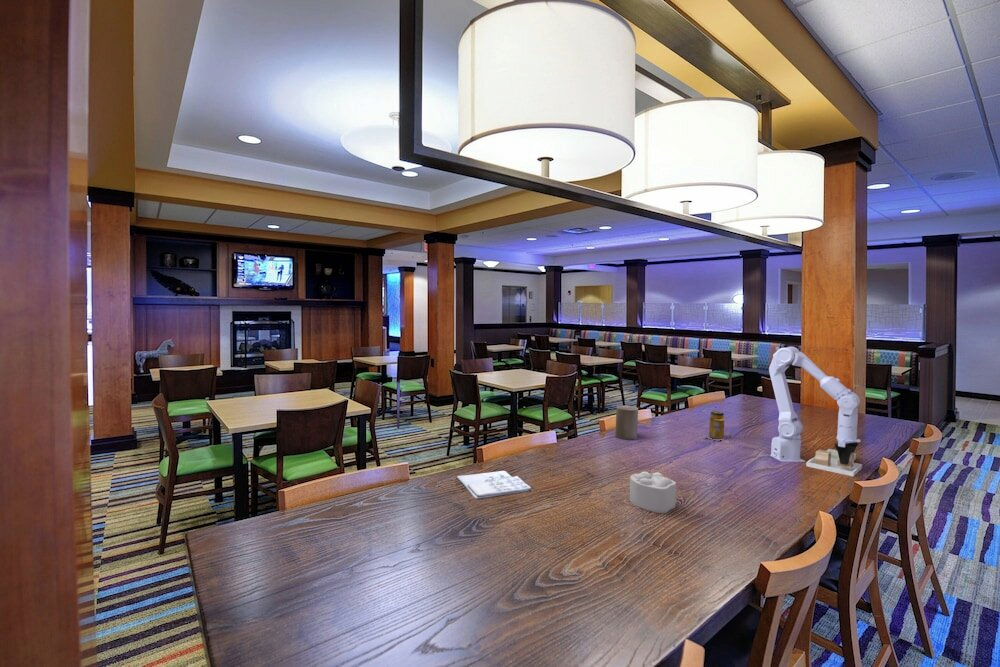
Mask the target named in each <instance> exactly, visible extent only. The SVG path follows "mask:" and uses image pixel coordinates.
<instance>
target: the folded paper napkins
mask: <svg viewBox="0 0 1000 667" xmlns="http://www.w3.org/2000/svg"><path fill="white" fill-rule="evenodd" d="M456 478H457V479H458V480H459V481H460V483H462V484H463V486H464V487H465V488H466V490H467V491H468V492H469V493H470V495H471V496H472V497H473V498H474V499H475V500H477V499H478V500H479V499H484V498H490V497H497V496H504V495H510V494H516V493H517V494H518V493H521V492H522V493H525V492H529V491H530V490H531V489H532V487H531V486H530V485H528V484H527V483H526V482H525V481H524V480H522V478H520V477H519V476H518V475H516V476H512V475H510V474H509V473H508V472H507V471H506V470H499V471H492V472H491V471H490V472H483V473H474V474H467V475H466V474H464V475H457V477H456Z"/></svg>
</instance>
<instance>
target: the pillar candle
mask: <svg viewBox="0 0 1000 667" xmlns="http://www.w3.org/2000/svg"><path fill="white" fill-rule="evenodd" d="M615 415H616V416H615V437H616V438H618V439H620V440H625V441H626V440H629V441H632V440H637V439H638V429H639V428H638V424H639V407H636V406H632V405H617V406H616V414H615Z"/></svg>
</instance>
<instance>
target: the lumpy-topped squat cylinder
mask: <svg viewBox="0 0 1000 667" xmlns="http://www.w3.org/2000/svg"><path fill="white" fill-rule="evenodd" d="M676 494H677V482H676V481H674V480H672V479H670V478H668V477H666V476H664V475H663V473H661V472H658V471H656V472H653V473H651V472H648V471H641V472H640V473H633V474H631V475H630V478H629V501H630V503H631V504H633V505H634V506H636V507H638V508H640V509H643V510H646V511H648V512H649V511H650V512H653V513H657V514H667V513H668V512H669V511H671V510H673V509H675V508H676V505H677V504H676V500H677V497H676V496H677V495H676Z"/></svg>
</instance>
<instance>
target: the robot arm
mask: <svg viewBox="0 0 1000 667" xmlns="http://www.w3.org/2000/svg"><path fill="white" fill-rule="evenodd" d="M790 365H792V366H795V367H800V368H802V369H803V370H805V371H806V372H807V373H808V374H809V375H811V377H813V378H815V379H816V380H817V381H818V382H819V387H820V388H821V389H822V390H823V391H824V392H825V393H827V394H828V395H829V396H830V397H831V398H832V399H833V400H834V401H836V403H837V404H836V405H838V412H837V413H838V414H837V415H838V416H837V433H836V435H837V436H836V437H835V438H836V440H837V442H835V443H834V448H835V450H837V452H838V455H839V460H840V464H845V465H847V464H848V462H849V458H850V454H851V452H853V453H854V454H855V451H856V448H857V447H858V446H859V443H861V441H862V440H861V439H859V438H858V423H859V422H858V419H859V415H858V412H859V410H858V406H859V405H860V402H861V400H860V397H859V395H857V393H855V392H853V391H852V389H850V388H847V387H846V386H845V385H844V384H843V383H841V379H839V378H838V377H837V378H835V376H829V375H826V373H825V372H823V370H822V369H821V368H819V366H817V365H816V364H815V363H814V362H813V361H812V360H811V359H810V358H809V357H808V356H807V355H806V354H805V353H804V352H802V351H800V350H799V349H798V348H797V347H795V346H787V347H781V348H778V349H777V350H776V351H775V352H774V353H773V354H772V360H771V363H770V364H769V367H768V372H769V376H770V380H771V384H772V388H773V392H774V396H775V400H776V405H777V409H778V413H779V415H778V419H777V420H778V427H777V431H778V434H779V435H778V436H773V437H772V438H771V439H772V440H771V442H770V443H771V448H770V454H769V456H770V457H772V458H774V459H775V460H778V461H779V462H784V463H786V462H789V463H790V462H792V463H793V462H801V463H802V462H806V460H805V459H802V458H801V449H802V447H801V445H802V443H801V442H802V437H801V435H800V433H801V432H802V431H803V428H804V426H803V424H802V423H803V422H801V420H800V419H799V418H798V417H799V416H798V414H797V413H796V412H795V409H794V405H793V401H792V397H791V393H790V390H789V384H788V381H787V376H786V373H785V372H786V370H787V369H788V368H789V367H790Z"/></svg>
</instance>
